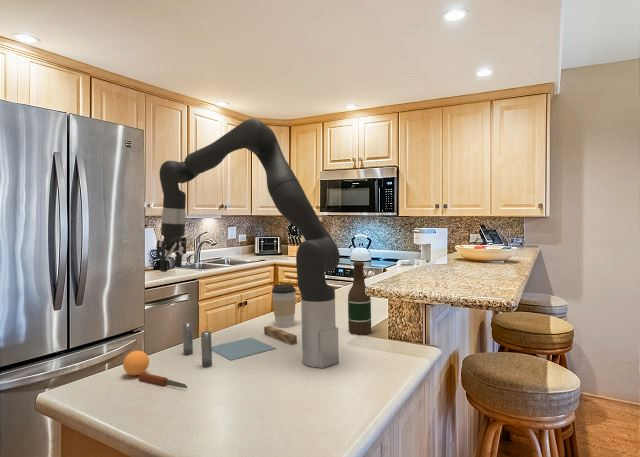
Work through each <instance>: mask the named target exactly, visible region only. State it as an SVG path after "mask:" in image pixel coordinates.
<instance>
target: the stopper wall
mask: <svg viewBox="0 0 640 457" xmlns="http://www.w3.org/2000/svg"><path fill="white" fill-rule="evenodd" d="M263 332H264V333H263V334H264V335H266V336H267V337H270V338H273V339H275V338H276V340H278V341H280V340H281V342H283V343H286V344H289V345H291V346H292V345H296V344H298V335H297V334H294V333H290V332H288V331H285V330H282V329H279V328H278V327H277V328H276V327H273V326H271V325H267V326H263Z"/></svg>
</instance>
